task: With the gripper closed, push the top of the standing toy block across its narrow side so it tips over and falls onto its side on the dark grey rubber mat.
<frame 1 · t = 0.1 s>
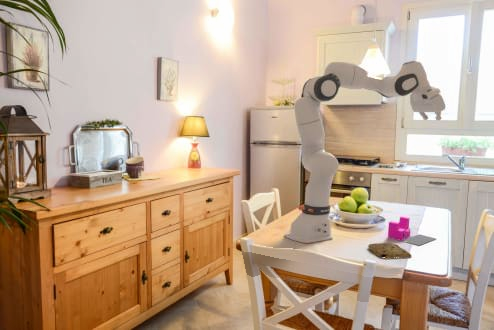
hand: (432, 119, 189), 54 cm above the table, tool tilted 30°, fingers open, 8 cm apart
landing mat: (419, 240, 180), on the table
toy block: (400, 236, 187), on the table
pastry: (389, 253, 163), on the table
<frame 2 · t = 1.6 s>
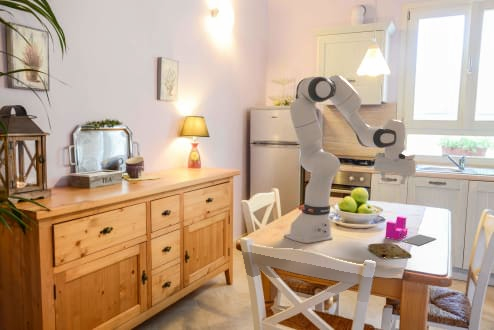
hand: (393, 182, 191), 24 cm above the table, tool pointing down, fingers open, 8 cm apart
toy block: (398, 236, 187), on the table
everything else where it was.
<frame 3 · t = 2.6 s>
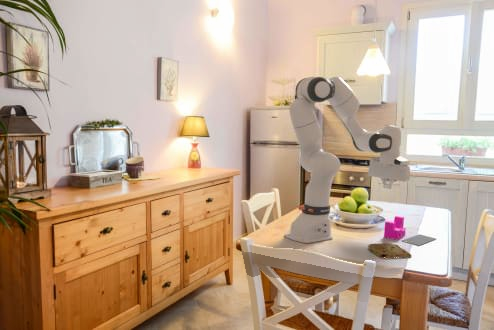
hand: (387, 188, 191), 21 cm above the table, tool pointing down, fingers closed
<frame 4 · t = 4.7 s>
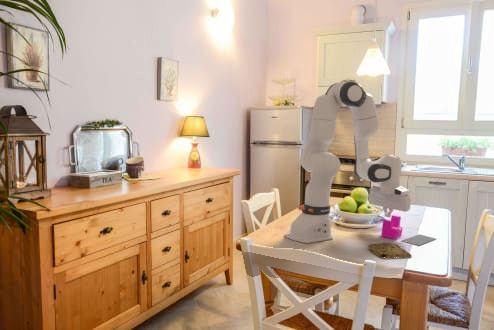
hand: (387, 216, 192), 7 cm above the table, tool pointing down, fingers closed
toy block: (393, 234, 188), on the table, touching gripper
everything else where it was.
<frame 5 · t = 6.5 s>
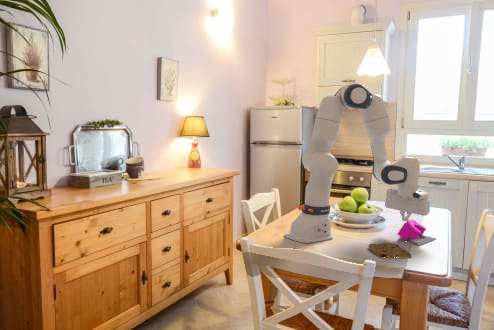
hand: (405, 220, 185), 7 cm above the table, tool pointing down, fingers closed
toy block: (404, 226, 184), point 5 cm above the table, touching gripper, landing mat
everything else where it was.
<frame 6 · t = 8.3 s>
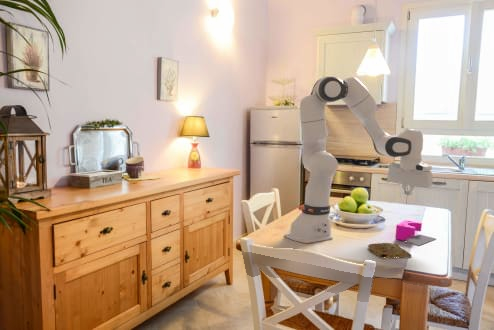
hand: (407, 194, 183), 20 cm above the table, tool pointing down, fingers closed
toy block: (400, 228, 186), point 3 cm above the table, touching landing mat
everything else where it was.
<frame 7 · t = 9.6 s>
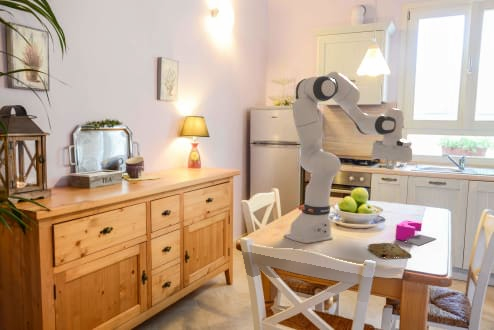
hand: (390, 169, 198), 29 cm above the table, tool pointing down, fingers closed
nothing on the table moved.
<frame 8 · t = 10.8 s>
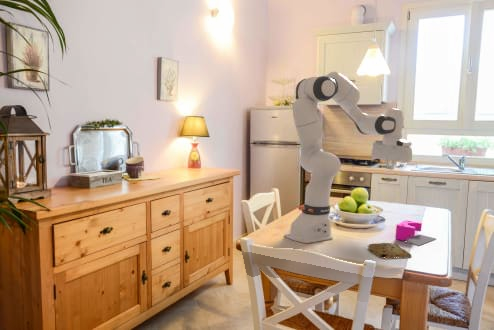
hand: (389, 169, 198), 29 cm above the table, tool pointing down, fingers closed
nothing on the table moved.
at the end: toy block tilted 90°; toy block touching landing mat, table; the gripper is holding nothing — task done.
